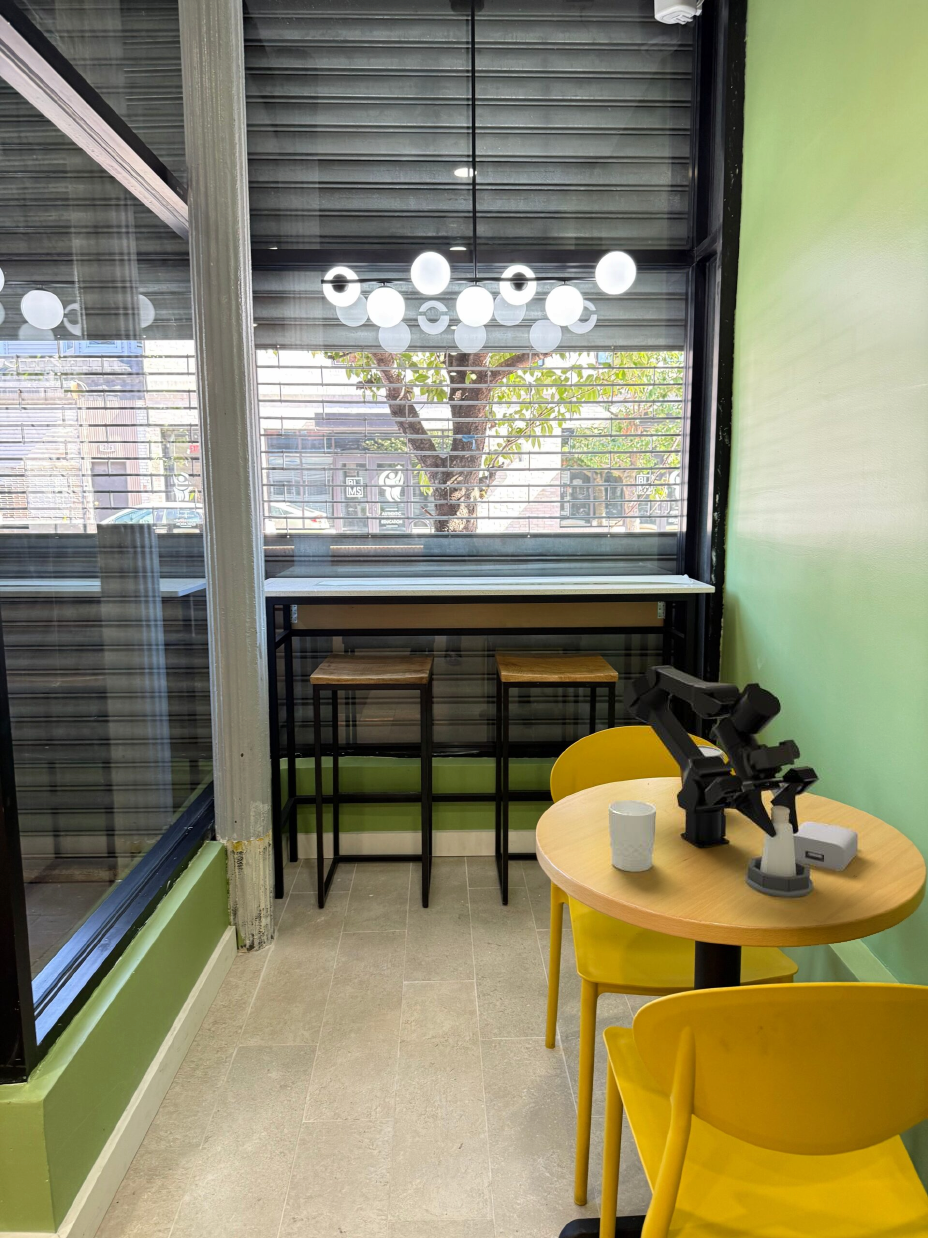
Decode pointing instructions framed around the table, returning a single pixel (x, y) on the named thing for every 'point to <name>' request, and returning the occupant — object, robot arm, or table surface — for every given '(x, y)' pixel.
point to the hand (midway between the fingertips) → (785, 834)
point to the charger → (825, 845)
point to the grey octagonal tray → (779, 880)
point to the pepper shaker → (779, 846)
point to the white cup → (632, 834)
